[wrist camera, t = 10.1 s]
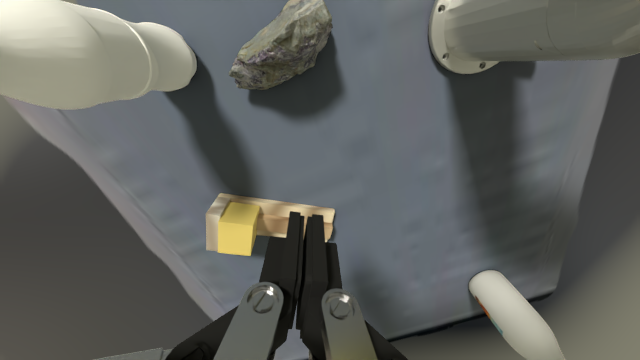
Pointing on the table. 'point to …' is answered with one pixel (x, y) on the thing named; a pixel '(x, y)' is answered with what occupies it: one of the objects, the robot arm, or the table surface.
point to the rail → (281, 210)
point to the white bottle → (85, 55)
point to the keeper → (237, 229)
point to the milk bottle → (514, 317)
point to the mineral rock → (283, 46)
